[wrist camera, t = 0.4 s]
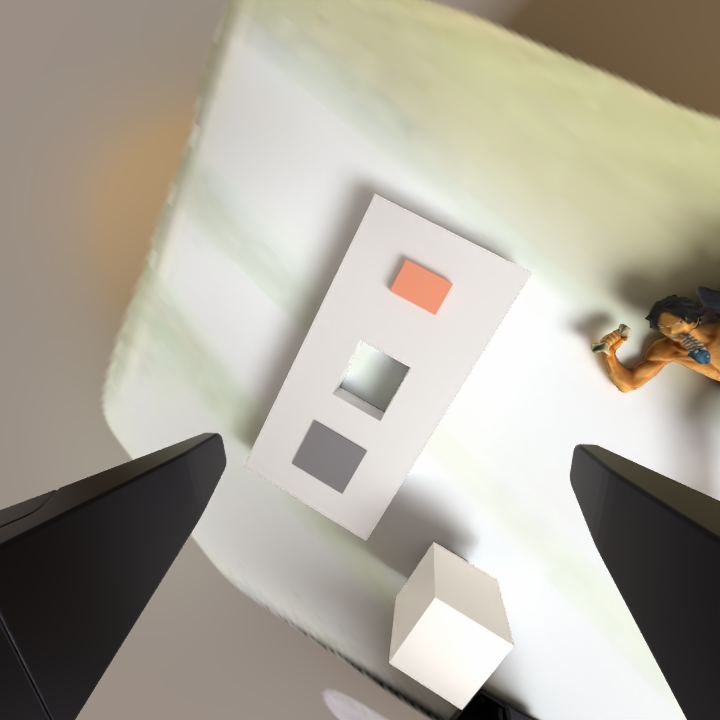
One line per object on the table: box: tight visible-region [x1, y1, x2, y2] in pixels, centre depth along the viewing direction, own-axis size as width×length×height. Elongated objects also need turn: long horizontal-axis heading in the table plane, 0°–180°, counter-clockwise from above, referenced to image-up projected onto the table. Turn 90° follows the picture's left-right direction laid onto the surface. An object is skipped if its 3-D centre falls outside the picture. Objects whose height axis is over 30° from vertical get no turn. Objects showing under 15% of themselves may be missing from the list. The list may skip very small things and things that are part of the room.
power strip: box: [244, 194, 532, 541], centre depth 23 cm, size 20×10×3 cm, turn 152°
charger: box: [389, 542, 514, 710], centre depth 22 cm, size 5×5×6 cm
